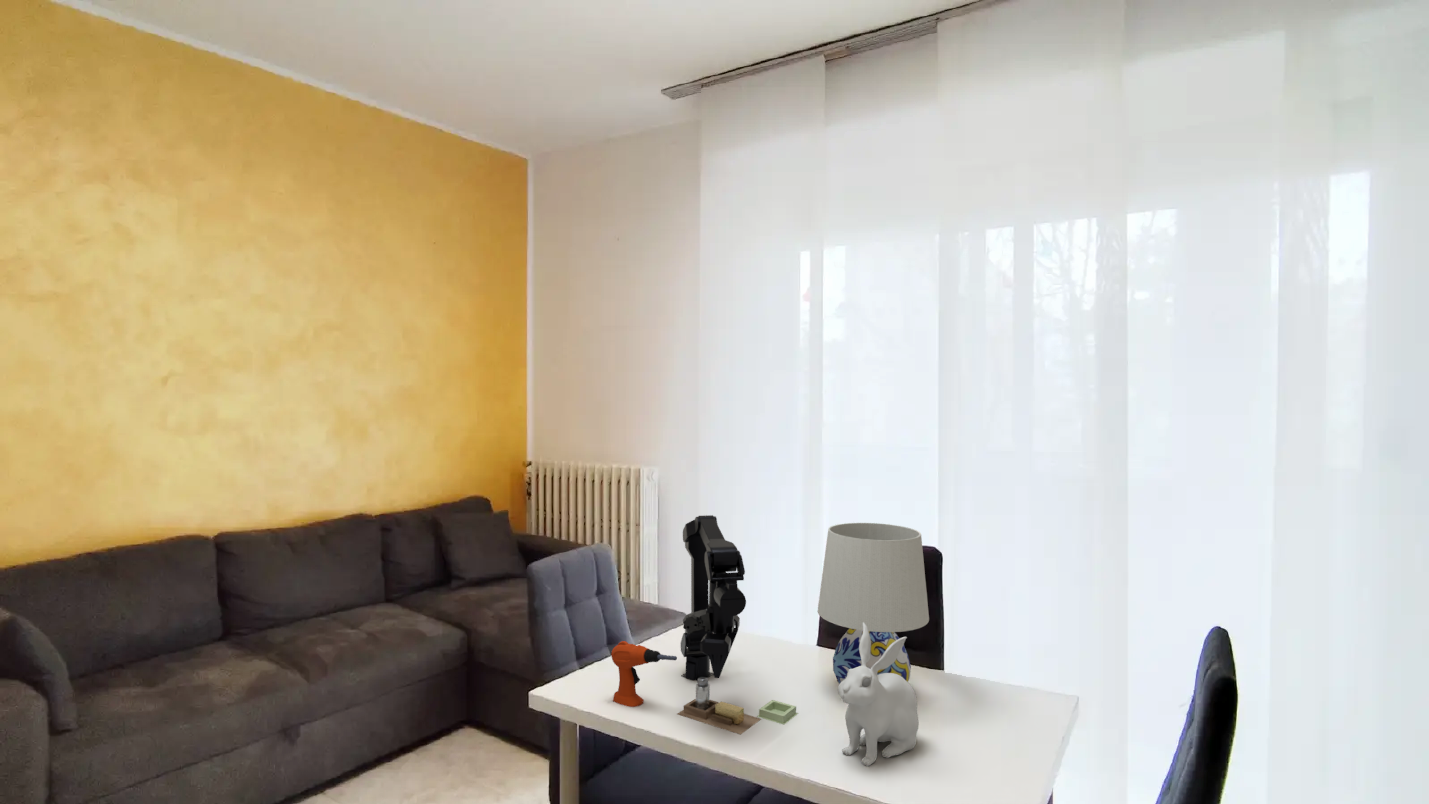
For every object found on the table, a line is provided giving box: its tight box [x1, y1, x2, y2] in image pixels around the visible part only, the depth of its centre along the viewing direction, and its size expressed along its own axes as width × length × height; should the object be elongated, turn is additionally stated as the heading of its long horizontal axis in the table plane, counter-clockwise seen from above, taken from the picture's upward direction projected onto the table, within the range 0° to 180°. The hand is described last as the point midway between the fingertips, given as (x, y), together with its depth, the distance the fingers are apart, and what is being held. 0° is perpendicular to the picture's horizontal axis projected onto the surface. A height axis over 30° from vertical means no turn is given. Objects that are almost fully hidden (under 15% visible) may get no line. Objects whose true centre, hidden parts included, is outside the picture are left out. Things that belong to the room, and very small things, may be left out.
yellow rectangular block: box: [715, 701, 745, 724], centre depth 164 cm, size 2×6×3 cm, turn 57°
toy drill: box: [610, 640, 678, 708], centre depth 170 cm, size 5×19×15 cm, turn 60°
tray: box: [756, 699, 799, 726], centre depth 167 cm, size 7×7×2 cm
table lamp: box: [817, 522, 930, 685], centre depth 182 cm, size 27×27×40 cm
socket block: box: [676, 698, 762, 735], centre depth 165 cm, size 9×17×2 cm, turn 57°
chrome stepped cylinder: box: [695, 677, 711, 710], centre depth 168 cm, size 3×3×8 cm
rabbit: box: [837, 622, 920, 767], centre depth 152 cm, size 12×21×25 cm, turn 128°
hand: (720, 669), depth 165 cm, fingers open, 9 cm apart
